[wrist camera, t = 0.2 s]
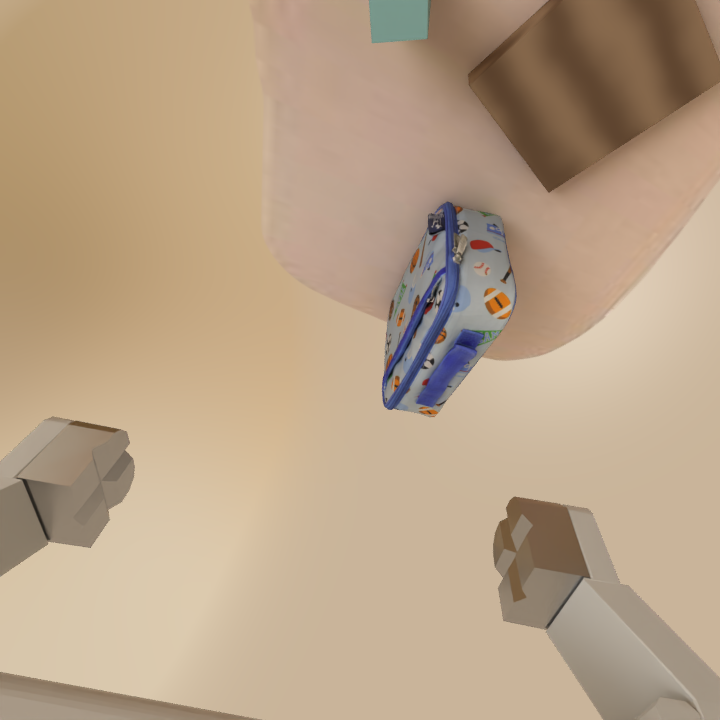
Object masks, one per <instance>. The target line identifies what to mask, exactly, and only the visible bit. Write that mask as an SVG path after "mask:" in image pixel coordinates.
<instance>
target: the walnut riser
mask: <svg viewBox="0 0 720 720" xmlns="http://www.w3.org/2000/svg"><path fill="white" fill-rule="evenodd" d="M468 78H469V86H470V87H471V89H472V90H473V92H474V93H475V94H476V96H477V97H478V98H479V100H480V101H481V102H482V104H483V105H484V106H485V108H486V109H487V110H488V112H489V113H490V114H491V116H492V117H493V118H494V120H495V121H496V122H497V124H498V125H499V126H500V128H501V129H502V130H503V132H504V133H505V135H506V136H507V137H508V139H509V140H510V141H511V143H512V144H513V145H514V147H515V148H516V149H517V151H518V152H519V153H520V155H521V156H522V157H523V159H524V160H525V161H526V163H527V164H528V165H529V167H530V168H531V169H532V171H533V172H534V174H535V175H536V176H537V178H538V179H539V180H540V182H541V183H542V184H543V186H544V187H545V188H546V190H547V191H548V192H551V191H552V190H554V189H555V188H557V187H558V186H560V185H561V184H563V183H565V182H566V181H568V180H569V179H571V178H572V177H574V176H575V175H577V174H578V173H580V172H581V171H583V170H585V169H586V168H588V167H589V166H591V165H592V164H594V163H595V162H597V161H598V160H600V159H602V158H603V157H605V156H606V155H608V154H609V153H611V152H612V151H614V150H615V149H617V148H619V147H620V146H622V145H623V144H625V143H626V142H628V141H629V140H631V139H632V138H634V137H636V136H637V135H639V134H640V133H642V132H643V131H645V130H646V129H648V128H649V127H651V126H652V125H654V124H656V123H657V122H659V121H660V120H662V119H663V118H665V117H666V116H668V115H669V114H671V113H673V112H674V111H676V110H677V109H679V108H680V107H682V106H683V105H685V104H686V103H688V102H690V101H691V100H693V99H694V98H696V97H697V96H699V95H700V94H702V93H703V92H705V91H707V90H708V89H710V88H711V87H713V86H714V85H716V84H717V83H719V82H720V61H719V59H718V56H717V54H716V51H715V49H714V46H713V44H712V41H711V39H710V36H709V34H708V31H707V29H706V26H705V24H704V21H703V19H702V16H701V14H700V11H699V9H698V6H697V4H696V1H695V0H549V1H548V2H547V3H546V4H545V5H544V6H542V7H541V8H540V9H539V10H538V11H537V12H536V13H535V14H534V15H533V16H532V17H531V18H529V19H528V20H527V21H526V22H525V23H524V24H523V25H522V26H521V27H520V28H519V29H517V30H516V31H515V32H514V33H513V34H512V35H511V36H510V37H509V38H508V39H507V40H505V41H504V42H503V43H502V44H501V45H500V46H499V47H498V48H497V49H496V50H495V51H493V52H492V53H491V54H490V55H489V56H488V57H487V58H486V59H485V60H484V61H483V62H481V63H480V64H479V65H478V66H477V67H476V68H475V69H474V70H473V71H472V72H471V73H469V74H468Z"/></svg>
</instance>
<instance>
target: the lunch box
mask: <svg viewBox="0 0 720 720" xmlns="http://www.w3.org/2000/svg"><path fill="white" fill-rule="evenodd" d="M515 303H516V285H515V280H514V275H513V271H512V268H511V264H510V260H509V255H508V251H507V246H506V240H505V233H504V226H503V222H502V219H501V217H500V216H498V215H495V214H491V213H485V212H479V211H474V210H470V209H465V208H462V207H457V206H455V207H453V204H452V203H450V202H447V203H445V204H443V205H441V206H440V207H439V208H438V209H437V211H436V212H435V214H429V215H428V228H427V231H426V233H425V235H424V237H423V239H422V241H421V243H420V245H419V247H418V249H417V251H416V252H415V254H414V256H413V258H412V260H411V262H410V264H409V266H408V268H407V269H406V272H405V274H404V276H403V279H402V281H401V283H400V285H399V287H398V289H397V292H396V294H395V296H394V298H393V300H392V303H391V307H390V311H389V316H388V322H387V332H386V344H385V363H384V364H385V371H384V377H383V383H382V396H383V403H384V406H385V407H386V408H387V409H389V410H392V409H393V408H394V409H397V410H404V411H410V412H414V413H419V414H422V415H425V416H428V417H435V416H436V415H437V414H438V412H439V411H440V410H441V408H442V407H443V405H444V404H445V402H446V401H447V399H448V398H449V397H450V396H451V395H452V393H453V392H454V391H455V389H456V388H457V387H458V386H459V384H460V383H461V382H462V381H463V379H464V378H465V377H466V375H467V374H468V373H469V372H470V371H471V369H472V368H473V367H474V366H475V364H476V363H477V362H478V360H479V359H480V358H481V357H482V355H483V354H484V353H485V351H486V350H487V349H488V348H489V346H490V345H491V344H492V343H493V341H494V340H495V339H496V338H497V336H498V335H499V334H500V332H501V331H502V330H503V328H504V327H505V325H506V324H507V322H508V320H509V319H510V316H511V314H512V312H513V309H514V306H515Z"/></svg>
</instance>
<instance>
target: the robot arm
mask: <svg viewBox="0 0 720 720" xmlns="http://www.w3.org/2000/svg"><path fill="white" fill-rule="evenodd" d="M129 444H130V442H129V438H128V434H127V432H126V431H123V430H121V429H116V428H111V427H105V426H100V425H95V424H90V423H85V422H80V421H73V420H68V419H63V418H58V417H51V418H48V419H45V420H44V421H43V422H42V423H40V424H39V425H38V426H37V427H36V428H35V429H34V430H33V431H32V432H31V433H30V434H29V435H28V436H27V437H26V438H24V439H23V440H22V441H21V442H20V443H19V444H18V445H17V446H16V447H15V448H14V449H13V450H12V451H11V452H10V453H9V454H8V455H6V456H5V457H4V458H3V459H2V460H1V461H0V576H2V575H3V574H5V573H6V572H8V571H9V570H10V569H12V568H14V567H15V566H16V565H18V564H20V563H21V562H22V561H24V560H25V559H27V558H28V557H30V556H31V555H33V554H34V553H36V552H37V551H38V550H40V549H42V548H43V547H45V546H46V545H48V542H55V543H62V544H69V545H75V546H82V547H89V548H91V546H92V545H93V543H94V542H95V540H96V539H97V538H98V536H99V534H100V533H101V532H102V530H103V529H104V527H105V526H106V524H107V523H108V521H109V512H108V509H110V508H112V507H114V506H115V505H117V504H119V503H121V502H122V500H123V499H124V497H125V496H126V494H127V493H128V491H129V489H130V486H131V483H132V481H133V478H134V468H135V467H134V461H133V458H132V457H131V456H130V455H129V454H128V453H127V452H126V451H125V449H126V448H127V446H128V445H129ZM506 510H507V516H508V518H506V519H504V520H502V521H500V522H499V525H498V527H497V530H496V532H495V537H494V543H493V556H494V564H495V568H496V569H497V570H498V572H499V573H500V574H501V576H502V577H503V580H502V582H501V584H500V585H499V588H498V590H499V597H500V603H501V609H502V615H503V620H504V621H507V622H511V623H516V624H521V625H526V626H531V627H536V628H541V629H545V630H547V631H546V633H547V634H548V636H549V638H550V639H551V641H552V642H553V644H554V645H555V647H556V648H557V650H558V651H559V653H560V654H561V656H562V657H563V659H564V660H565V662H566V663H567V665H568V667H569V668H570V670H571V671H572V673H573V674H574V676H575V677H576V679H577V680H578V682H579V683H580V685H581V686H582V688H583V689H584V691H585V692H586V693H587V695H588V697H589V698H590V700H591V701H592V703H593V704H594V706H595V707H596V709H597V711H598V712H599V713H600V715H601V717H602V718H603V720H720V678H719V676H718V675H717V674H716V673H715V672H714V671H713V670H712V669H711V668H710V667H709V666H708V665H707V664H706V663H705V662H704V661H703V660H702V659H701V658H700V657H699V656H698V655H697V654H696V653H695V652H694V651H693V650H692V649H691V648H690V647H689V646H688V645H687V644H686V643H685V642H684V641H683V640H682V639H681V638H680V637H679V636H678V635H677V634H676V633H675V632H674V631H673V630H672V629H671V628H670V627H669V626H668V625H667V624H666V623H665V622H664V621H663V620H662V619H661V618H660V617H659V616H658V615H657V614H656V613H655V612H654V611H653V610H652V609H651V608H650V607H649V606H648V605H647V604H646V603H645V602H644V601H643V600H642V599H641V598H640V597H639V596H638V595H637V594H636V593H635V592H634V591H633V590H632V589H631V588H630V587H629V586H628V585H623V584H620V581H619V579H618V576H617V574H616V571H615V569H614V566H613V564H612V561H611V559H610V556H609V554H608V551H607V549H606V546H605V544H604V541H603V538H602V536H601V533H600V531H599V528H598V526H597V523H596V521H595V518H594V516H593V513H592V512H591V511H590V510H589V509H587V508H581V507H574V506H568V505H561V504H557V503H551V502H545V501H539V500H533V499H526V498H520V497H513V498H512V499H511V500H510V501H509V503H508V505H507V507H506ZM0 720H259V719H254V718H249V717H244V716H238V715H232V714H227V713H221V712H216V711H211V710H205V709H200V708H194V707H189V706H183V705H178V704H173V703H167V702H162V701H156V700H150V699H145V698H140V697H134V696H129V695H123V694H118V693H113V692H107V691H102V690H96V689H91V688H85V687H80V686H73V685H69V684H63V683H58V682H52V681H47V680H41V679H36V678H30V677H25V676H19V675H14V674H9V673H3V672H0Z"/></svg>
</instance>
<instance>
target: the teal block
mask: <svg viewBox="0 0 720 720" xmlns="http://www.w3.org/2000/svg"><path fill="white" fill-rule="evenodd" d="M430 5H431V0H369V8H370V22H371V37H372V43H381V42H394V41H407V40H420V39H427V38H428V27H429V16H430Z"/></svg>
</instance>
